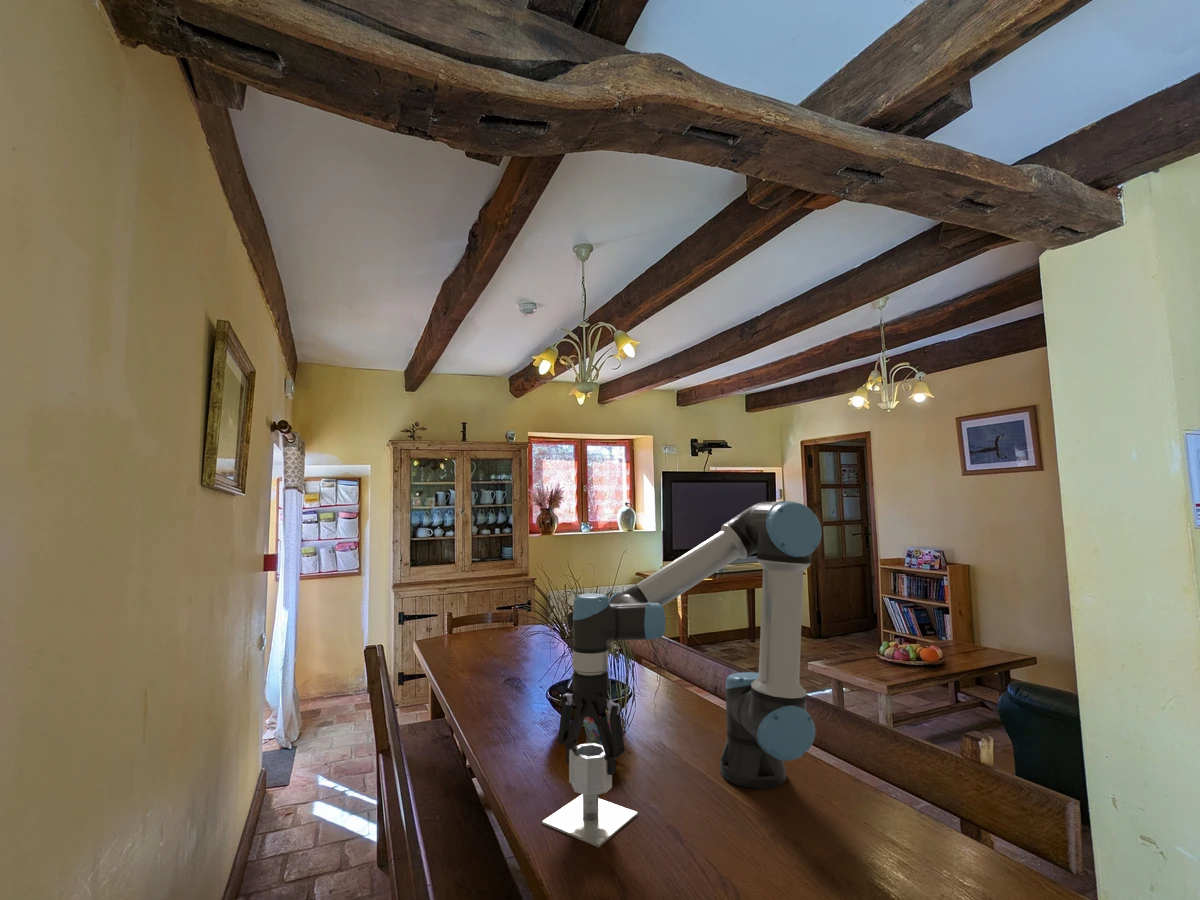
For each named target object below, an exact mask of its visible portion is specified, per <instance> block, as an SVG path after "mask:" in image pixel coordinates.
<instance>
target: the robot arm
mask: <svg viewBox="0 0 1200 900" xmlns="http://www.w3.org/2000/svg"><path fill="white" fill-rule="evenodd" d="M822 535H823V532H822V526H821V523H820V520H819V518H818V516H817V515H816V513H814V511H813V510H812V509H811V508H810V507H808V505H807V506H806V505H805V504H803V503H799V502H796V501H790V500H783V501H782V500H781V501H762V502H761V501H760V502H758V503H755V504H753V505H751V506H749V507H748V508H746V509H745V510H743V511H741V512H740V513H739V514H737V515H736V516H734V517H733V518H731V519H730V520H728V521H726V522H725V523H723V524H722V525H721V529H720V531H719V532H717V533H715V534H714V535H712V536H711V537H709V538H708V539H706V540H704V541H703V542H701V543H699V544H698V545H696V546H695V547H693V548H691V549H690V550H689V551H687V552H686V553H684V554H683V555H681V556H679V557H677V558H675V559H674V560H673V561H671V562H669V563H668V564H666V565H664V566H663V567H661V568H660V569H658V570H657V571H655V572H653V573H651V574H650V575H649V576H647V577H646V578H644V579H642V580H641V581H640V582H637V583H636V584H635V585H634V586H633V585H632V586H631V587H630V588H628V589H626V590H624V591H617V592H615V593H613V594H612V595H611V596H610V597H608V595H607V594H604V593H594V592H593V593H588V592H587V593H583V594H582V593H581V594H578V595H577V596H575V598H574V599H573V613H572V669H573V672H572V690H573V692H572V693H571V692H566V693H564V694H562V695H561V696H560V699H559V700H560V704H561V711H560V721H559V727H558V728H559V729H558V735H557V741H558V742H557V743H558V744H560V745H564V746H565V755H566V758H565V761H566V764H568V768H569V769H568V783H569V784H572V749H573V748H575V747H576V746H578V745H577V744H578V739H579V736H580V733H581V729H582V727H583V725H584V724H583V721H584V718H585V717H590V718H592V719H593V720H594V723H595V724H596V725H597V729H598V732H599V735H600V739H601V742H602V745H603V749H604V752H605V755H606V756H605V757H603V758H602V792H603V793H602V794H606V793H608V791H610V790H611V789H612V788H613V774H615V773H616V767H617V766H616V760H617V758H619V757H620V756H621V755H624V753H625V745H624V744H625V743H624V734H623V733H624V732H623V730H622V720H621V718H622V717H621V716H622V715H621V713H622V709H623V704H622V703H621V702H617V703H615V702H614V701H612V700H611V699H610V697H609V687H610V686H609V685H610V684H609V683H610V682H609V681H610V678H609V674H610V673H609V671H608V669H609V647H610V646H609V644H610V641H640V640H643V641H644V640H647V641H650V640H656V639H661V638H662V637H664V635H665V632H666V624H667V623H666V614H665V609H664V606H665V605H666V604H668V603H670V602H671V601H673V600H674V599H676V598H678V597H679V596H681V595H683V593H685V592H687V591H689V590H691V588H693V587H695V586H696V585H699V583H701V582H702V581H704V580H706V579H708V578H709V577H710V576H713V575H714V574H715V573H716V572H719V571H720V570H721V569H723V568H725V567H727V566H728V565H729V564H731V563H732V562H734V561H736V560H738V559H743V560H746V559H747V558H749V557H750V556H751V555H753V554H756V561H757V562H758V563H759V564H760V566H761V567H762V585H761V586H762V587H761V588H762V589H761V611H760V612H761V613H760V615H761V616H760V632H759V633H760V635H759V637H760V638H759V661H758V672H752V671H751V672H750V671H749V672H745V671H744V672H743V671H742V672H735V673H731V674H729V675H728V676H727V677H726V679H725V680H726V681H725V688H724V689H725V704H726V706H725V707H726V710H725V711H726V715H725V716H726V741H725V744H724V746H723V750H722V753H721V757H720V762H719V771H720V774H721V776H722V777H723V778H724V779H725V780H726V781H728V782H730V783H732V784H733V785H737V786H739V787H743V788H747V789H754V790H767V789H768V790H769V789H774V788H778V787H780V786H781V785H783V784H784V783H785V781H786V779H787V771H786V765H785V763H784V761H785V762H787V761H788V762H789V761H794V760H797V759H800V758H801V757H803V755H804V754H806V752H808V751H809V750H810V748H811V747H812V745H813V743H814V741H815V738H816V725H815V722H814V719H813V718H812V717H811V715H810V713H809V711H807V691H806V689H805V688H804V687H803V686H802V685H801V682H800V675H801V674H800V671H801V646H802V645H801V644H802V642H801V641H802V619H803V617H802V615H803V614H802V613H803V594H804V593H803V590H804V589H803V587H804V583H803V582H804V572H805V570H806V569H808V568H809V567H810V566H811V565H812V553H814V552H815V550H816V549H817V548H818V547H819V546H820V543H821V541H822V540H821V539H822ZM573 704H574V705H575V707H576V709H575V712H574V715H573V707H574V706H573ZM606 709H608V710H606ZM606 711H608V713H609V714H610V726H611V731H610V728H609V725H608V722H607V714H606ZM572 715H573V720H572ZM600 716H601V717H600ZM599 717H600V718H599Z"/></svg>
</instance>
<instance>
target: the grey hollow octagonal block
mask: <svg viewBox="0 0 1200 900" xmlns="http://www.w3.org/2000/svg"><path fill="white" fill-rule="evenodd" d="M575 746H576V745H575ZM605 756H606V755H605V752H604V749H603V745H599V744H595V743H589V744H586V743H580V744H578V745H577V746H576V747H575V748H573V749H572V783H571V787H572V789H573V791H574V793H577V794H580V795H582V794H584V795H587V796H588V795H596V794H599V795H602V794H604V793H603V792H602V758H603V757H605Z"/></svg>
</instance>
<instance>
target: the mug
mask: <svg viewBox="0 0 1200 900" xmlns="http://www.w3.org/2000/svg"><path fill="white" fill-rule="evenodd" d="M608 711H609V710H606V714H607V722H608V725H609V728H610V731H611V726H610V714H609V713H608ZM600 717H601V716H600ZM600 717H599V718H600ZM625 723H626V722H625V720H624V718H623V717H621V724H622V731H623V730H624V728H625ZM582 725H583V726H584V730H585V735H586V743H585V744H589V743H595V744H599V745H602V742H601V739H600V735H599V732H598V729H597V725H596V724H595V723H594V720H593V719H592V718H590V717H585V718H584V721H583V724H582Z"/></svg>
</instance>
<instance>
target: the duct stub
mask: <svg viewBox="0 0 1200 900" xmlns="http://www.w3.org/2000/svg"><path fill="white" fill-rule="evenodd" d="M599 795H600V794H596V795H588V796H587V795H584V794H580V795H578V796H577V797H576V798H574V799H573V800H571V801H570V802H568V803H567V804H565V805H564V806H562V807H561V808H560V809H558V810H557V811H555V812H554V813H552V814H551V815H549V816H548V817H546V818H545V819H543V820H542V825H544V826H546V827H549V828H551V829H552V830H553V829H554V830H556V831H558V832H561V833H563V834H566V835H568V836H571V837H573V838H575V839H578V840H580V841H582V842H584V843H588V844H590V845H592V846H594V847H596V848H600V847H602V845H604V844H605V843H606V842H607V841H609V840H610V839H611V838H612V837H613V836H615V834H617V833H618V832H619V831H620V830H622V829H623V828H624V827H625V826H627V825H628V824H629V823H630V822H631V821H632V820H634V819H635V818H636V817H637V816H638V815H639V813H638V811H636V810H633V809H631V808H627V807H624V806H622V805H619V804H616V803H613V802H611V801H607V800H605V799H602V798H599Z"/></svg>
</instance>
